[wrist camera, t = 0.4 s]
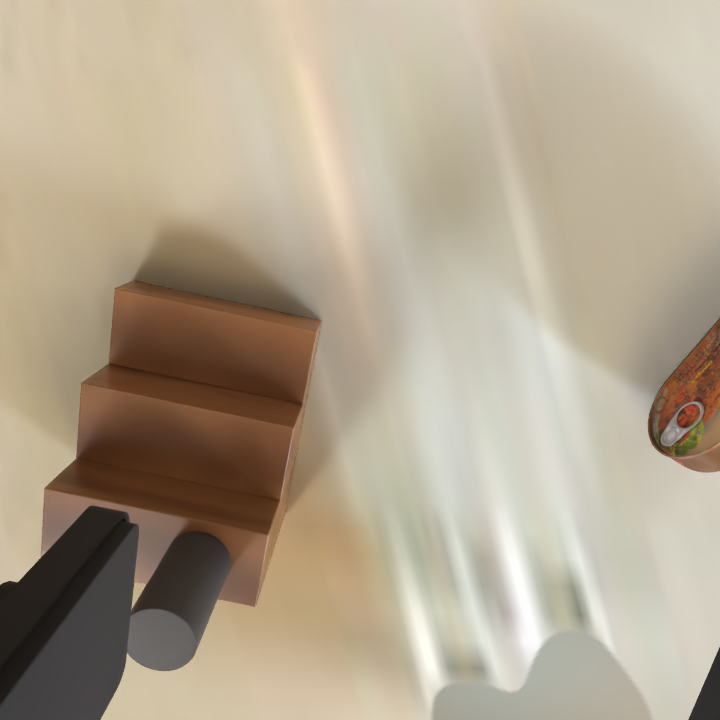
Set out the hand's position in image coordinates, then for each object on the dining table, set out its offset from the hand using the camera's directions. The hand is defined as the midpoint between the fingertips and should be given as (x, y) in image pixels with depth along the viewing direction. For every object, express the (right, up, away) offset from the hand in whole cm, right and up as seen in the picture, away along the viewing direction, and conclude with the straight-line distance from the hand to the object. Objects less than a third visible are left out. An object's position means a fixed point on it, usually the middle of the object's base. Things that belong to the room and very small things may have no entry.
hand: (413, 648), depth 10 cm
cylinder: (-11, -8, +29) cm, 32 cm away
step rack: (-12, +1, +38) cm, 40 cm away
